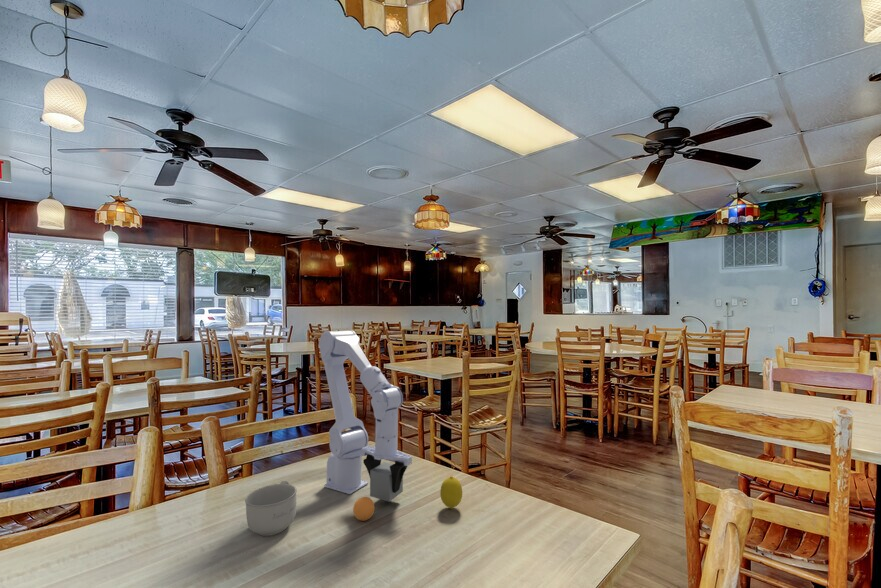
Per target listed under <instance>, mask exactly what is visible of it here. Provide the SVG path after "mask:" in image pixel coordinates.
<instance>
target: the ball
mask: <svg viewBox="0 0 881 588" xmlns="http://www.w3.org/2000/svg"><path fill="white" fill-rule="evenodd" d="M352 511H353V512H352V513H353V515H354V517H355V518H356V519H357V520H359V521H363V522H364V521H368V520H369V519H371V518H372V516H373V515H374V512H375V503H374V501H373V500H372V498H370V497H367V496H361V497H359V498H358V499H357V500H356V501H355V502H354V504H353V510H352Z"/></svg>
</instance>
